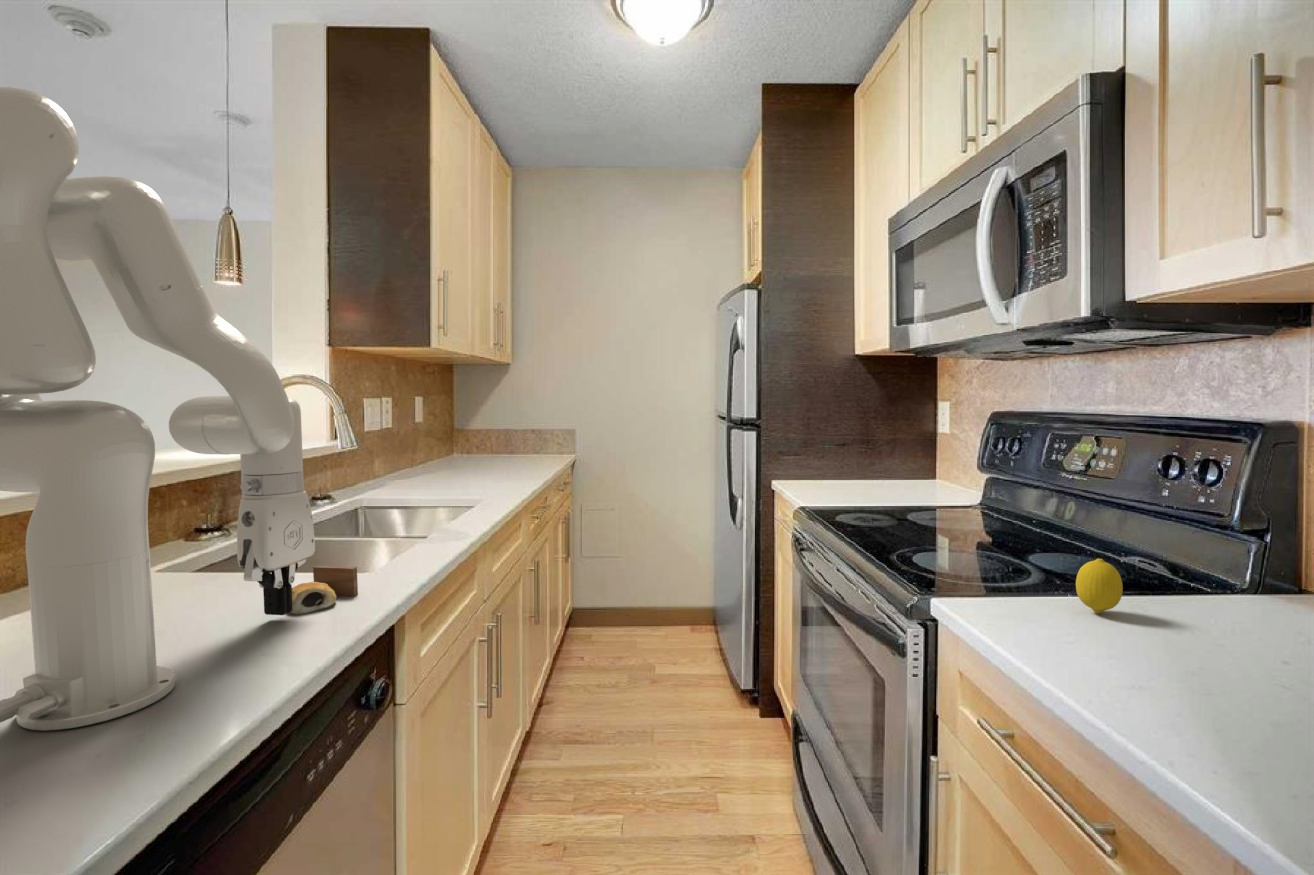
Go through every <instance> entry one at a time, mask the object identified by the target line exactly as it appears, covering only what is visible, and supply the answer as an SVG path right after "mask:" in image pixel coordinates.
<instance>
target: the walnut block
mask: <svg viewBox="0 0 1314 875" xmlns="http://www.w3.org/2000/svg"><path fill="white" fill-rule="evenodd" d="M312 570H313V571H312V575H313V582H319V583H325V584H328V586H329V587H330V588H331V589H333V590H334V591H335V594H336V596H339V597H356V596H358V595H359V592H358V591H359V589H358V588H359V587H358V585H359V584H358V567H357V566H341V565H339V566H337V565H335V566H334V565H333V566H332V565H316V566H313V567H312Z"/></svg>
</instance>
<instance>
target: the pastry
mask: <svg viewBox="0 0 1314 875" xmlns="http://www.w3.org/2000/svg"><path fill="white" fill-rule="evenodd" d="M336 600H337V596H336V594H335V591H334V590H333V589H331V588H330V587H329V586H328V584H325V583H319V582H314V581H311V582H305V583H303V582H302V583H299V584H297V585H294V586H292V611H291V612H289V613H291V614H292V615H298V614H299V615H301V614H307V613H310V612H314V611H319V610H324V609H328V608H330V607H332V606H333V605H334V604H335V603H336Z"/></svg>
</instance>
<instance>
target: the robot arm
mask: <svg viewBox="0 0 1314 875" xmlns="http://www.w3.org/2000/svg"><path fill="white" fill-rule="evenodd" d="M79 154H80V142H79V139H78V134H77V130H76V128H75V126H74V123H73V122H72V121H71V118H70V117H69V116H68V114H67V112H65V110H64V109H63V108H62V107H61V106H59V105H58V103H57V102H54V101H53V100H51V99H50V98H48V97H46V96H44V95H42V94H40V93H37V92H34V91H32V90H30V89H29V90H28V89H25V88H24V89H23V88H18V87H17V88H16V87H11V86H10V87H9V86H8V87H7V86H6V87H4V86H3V87H2V86H0V491H2V492H13V493H32V494H33V493H35V494H36V493H38V494H39V495H38V498H37V501H36V502H35V506H34V508H33V510H32V513H31V516H30V518H29V522H28V525H27V530H26V534H25V559H26V560H25V561H26V566H27V567H26V568H27V580H28V593H29V594H28V596H29V606H30V620H31V621H30V622H31V633H32V645H33V660H34V673H33V674H31V675H28V676H24V677H23V678H22V682H23V688H20V689H18V690H17V691H16V692H15V694H14V695H13V696H11V697H9V698H8V697H7V698H4V699H0V723H3V722H6V721H7V720H10V719H12V718H14V716H16V723H17V724H18V726H20V727H22V728H24V729H27V730H32V731H59V730H67V729H74V728H79V727H84V726H90V725H95V724H98V723H99V724H100V723H103V722H107V721H111V720H113V719H117V718H120V717H122V716H126V715H129V714H131V713H134V712H136V711H139V710H142V709H143V708H146V707H148V706H150V705H151V704H154V703H156V702H158V701H160V700H161V699H162V698H164V697H165V696H166V695H168V694H169V693H170V692H171V691H173V689H174V688H175V686H176V673H175V672H174V670H172V669H171V668H168V667H165V666H159V665H158V664H157V651H156V650H157V648H156V635H155V634H156V633H155V632H156V631H155V620H154V619H155V618H154V616H155V615H154V600H153V588H152V587H153V586H152V583H153V582H152V570H151V568H152V567H151V553H150V552H151V551H150V550H151V549H150V542H149V541H150V540H149V520H148V519H149V518H148V517H149V516H148V515H149V509H148V508H149V494H150V488H151V487H150V486H151V480H152V475H153V471H154V465H155V464H154V463H155V459H156V444H155V443H156V442H155V438H154V435H153V432H152V430H151V429H150V427H149V425H148V424H147V422H145V420H144V419H143V418H142V417H141V416H140V415H138V414H137V413H136V412H134V411H133V410H130V409H128V408H126V407H124V406H121V405H119V404H116V403H110V402H106V401H100V400H99V401H98V400H85V399H84V400H81V399H80V400H78V399H77V400H67V399H66V400H45V401H44V400H43V399H42V398H41V396H40V394H41V395H42V394H53V393H59V392H64V391H69V390H71V389H73V388H77V387H79V386H80V385H82V384H83V383H85V382H86V381H87V380H88V379H89V378H90V377H91V376H92V375H93V372H94V370H95V368H96V362H97V361H96V360H97V358H96V350H95V348H94V344H93V342H92V339H91V337H90V335H89V332H88V330H87V327H86V325H85V323H84V320H83V318H82V317H81V315H80V312H79V310H78V308H77V306H76V304H75V301H74V298H73V297H72V295H71V293H70V290H69V288H68V286H67V283H66V281H65V279H64V277H63V275H62V273H61V270H60V268H59V266H58V264H57V260H63V261H67V262H68V261H71V262H73V261H87V260H88V261H89V260H91V261H92V264H93V265H94V267H95V269H96V270H97V272H98V275H99V276H100V277H101V279H102V282H103V283H104V284H105V287H106V289H107V290H108V293H109V294H110V296H111V298H112V300H113V301H114V303H115V306H116V308H117V310H118V311H119V313H120V315H121V317H122V318H123V321H124V323H125V326H126V327H127V329H128V330H129V331H130V332H131V333H132V334H133V335H135V336H136V337H138V338H140V339H141V340H143V341H145V342H147V343H150V344H151V345H154V346H156V347H158V348H160V349H163V350H164V351H167V352H170V353H172V354H175V355H177V356H179V357H181V358H183V359H186V360H187V361H190V362H192V363H193V364H195V365H197V366H198V367H200V368H201V369H203V370H204V371H205V372H208V373H209V374H210V376H212V377H213V378H214V379H215V380H217V382H218V384H220V385H221V386H222V387H223V388H224V390H225V391H226V392H227V394H228V395H218V396H217V395H214V396H213V395H210V396H198V397H193V398H190V399H188V400H186V401H183V402H181V403H180V404H178V406H177V407H176V408H175V409H174V410H173V411H172V413H171V414H170V417H169V420H168V430H169V433H170V435H171V438H172V439H173V440H174V442H175V443H176V444H177V445H178V446H180V447H181V448H183V449H184V450H187V451H189V452H192V453H196V454H202V455H240V478H241V480H240V481H241V483H240V485H239V489H240V490H241V498H240V501H239V508H238V515H237V525H236V526H237V528H236V529H237V530H236V555H237V556H236V557H237V563H238V566H239V567H240V569H242V570H243V571H244V572H243V581H245V582H257V583H258V586H259V588H262V590H263V613H264V614H265V615H267V616H268V615H269V616H271V615H272V616H284V615H287V613H288V614H289V613H290V612H291V611H292V588H293V586H292V585H293V583H294V582H295V580H296V572H297V570H298V569H299V568H300V567H301V566H302V565H304V564H305V563H306V562H307V560H308V559H310V558H311V557H312V556H313V555H314V554H315V552H316V543H315V542H316V541H315V529H314V528H315V527H314V521H313V520H314V519H313V513H312V512H313V511H312V508H311V503H310V499H309V495H308V493H307V491H306V490H305V489H304V488H305V486H304V485H305V484H304V466H303V465H304V462H303V459H304V458H303V434H302V432H303V431H302V410H301V406H300V404H299V403H298V401H297V400H296V399H292V398H289V397H288V395H287V392H286V390H285V387H284V385H283V383H282V380H281V379H280V375H279V374H278V373H277V370H276V369H275V367H274V365H273V364H272V363H271V361H270V360H269V359H268V358H267V356H266V355H264V353H263V352H262V351H261V350H260V349H259V348H258V347H256V346H255V344H254V343H252V342H251V341H250V340H249V339H248V338H247V337H246V336H245V335H244V334H243V333H242V332H241V331H240V330H238V329H237V328H236V327H235V326H233V325H232V324H231V323H229V322H228V321H226V320H225V319H224V318H222V317H221V315H220V314H218V313H217V312H216V310H214V307H213V306H212V304H211V302H210V300H209V299H208V296H207V294H206V292H205V290H204V287H203V285H202V283H201V281H200V279H199V276H198V274H197V272H196V270H195V268H194V265H193V264H192V261H191V259H190V257H189V254H188V252H187V250H186V248H185V246H184V244H183V241H182V239H181V237H180V235H179V233H178V232H179V231H177V228H176V226H175V224H174V221H173V219H172V217H171V215H170V213H169V211H168V208H167V207H166V205H165V203H164V202H163V199H161V198H160V196H159V195H158V193H156V191H154V190H153V189H152V188H151V187H149V186H148V185H147V184H144V183H143V182H140V181H138V180H135V179H132V178H127V177H121V176H86V177H73V178H68V177H69V176H70V175H71V174H72V173H73V171H74V170H75V167H76V166H77V163H78V159H79Z"/></svg>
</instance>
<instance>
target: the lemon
mask: <svg viewBox="0 0 1314 875" xmlns="http://www.w3.org/2000/svg"><path fill="white" fill-rule="evenodd" d="M1123 587H1124V586H1123V580H1122V577H1121V575H1120V573H1119V571H1118V570H1117V568H1115V566H1113V565H1112V564H1111V563H1109V562H1106V561H1105V560H1104V559H1103V558H1096V559H1095V560H1091V561H1088V562H1086V563H1085V564H1084V563H1083V565H1082V566H1081V567H1079V570H1078V572H1077V575H1076V579H1075V590H1076V594H1077V597H1078V598H1079V600H1080V602H1082V603H1083V604H1084V605H1085V606H1086V607H1088V608H1090V609H1091V610H1092V611H1093V612H1094V614H1099V615H1100V614H1102V613H1103V612H1105V611H1108V610H1111V609H1113V608H1115V607H1117V605H1118V604H1119V603H1120V601H1121V599H1122V595H1123V589H1124V588H1123Z"/></svg>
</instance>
